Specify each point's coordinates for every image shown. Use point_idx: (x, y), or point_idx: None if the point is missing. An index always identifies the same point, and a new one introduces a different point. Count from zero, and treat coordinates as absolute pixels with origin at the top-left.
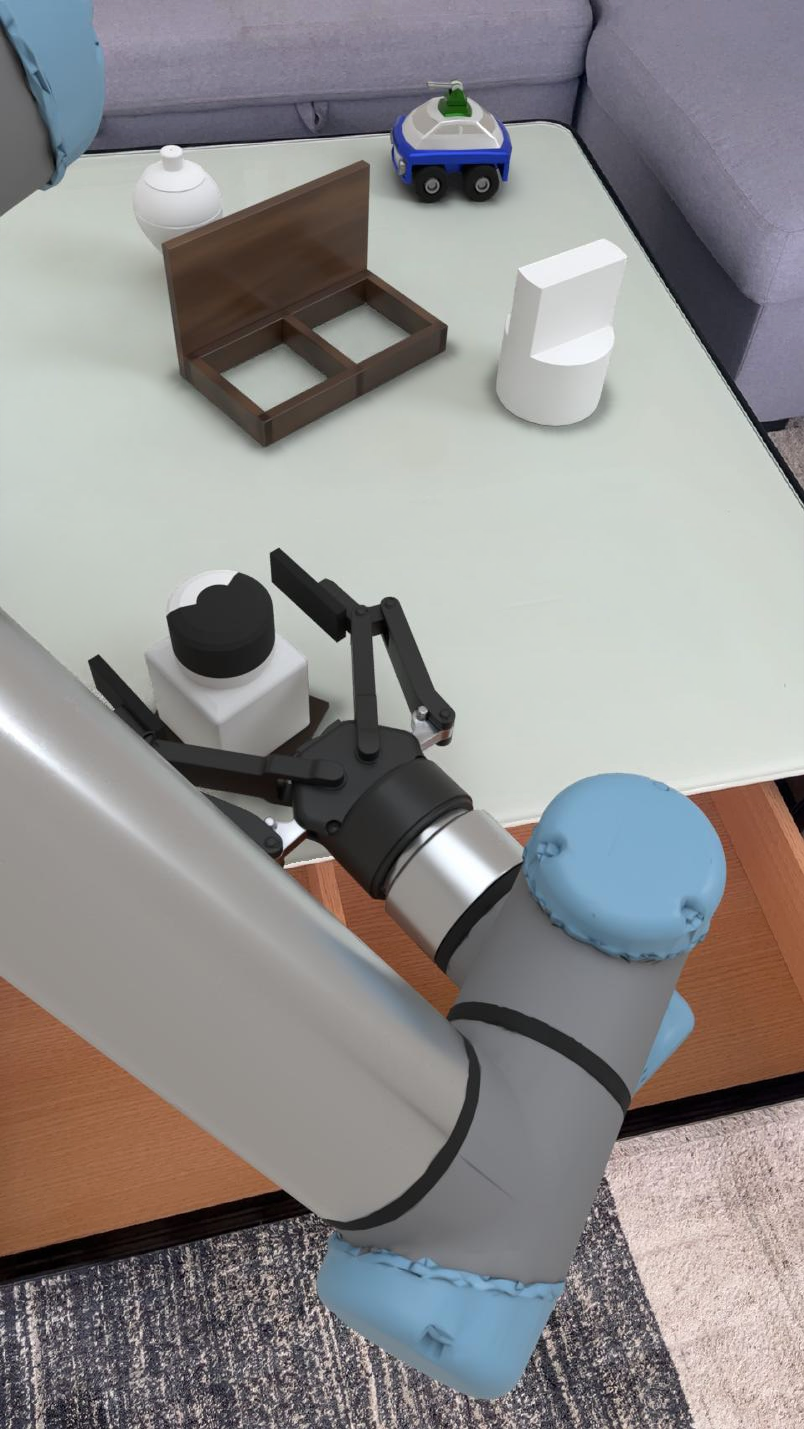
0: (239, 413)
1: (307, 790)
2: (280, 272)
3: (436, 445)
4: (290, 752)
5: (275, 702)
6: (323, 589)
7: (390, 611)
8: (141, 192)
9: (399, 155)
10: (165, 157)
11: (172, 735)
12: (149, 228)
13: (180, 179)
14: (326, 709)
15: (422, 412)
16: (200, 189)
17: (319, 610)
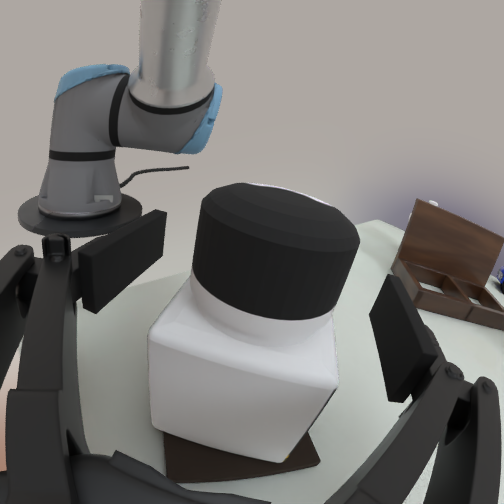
0: (408, 285)
1: (5, 498)
2: (456, 254)
3: (492, 359)
4: (234, 467)
5: (251, 400)
6: (422, 323)
7: (486, 394)
8: None
9: (501, 273)
10: (430, 201)
11: None
12: None
13: None
14: (312, 465)
15: (490, 343)
16: None
17: (399, 347)
